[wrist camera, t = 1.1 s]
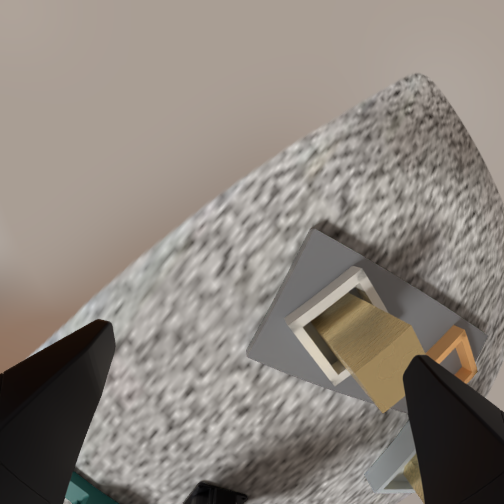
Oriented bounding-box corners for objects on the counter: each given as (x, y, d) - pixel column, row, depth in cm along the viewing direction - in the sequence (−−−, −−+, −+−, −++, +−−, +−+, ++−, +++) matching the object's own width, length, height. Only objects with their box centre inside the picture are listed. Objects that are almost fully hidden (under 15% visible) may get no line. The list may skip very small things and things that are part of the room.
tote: (410, 476, 28) (421, 492, 24) (364, 474, 27) (374, 493, 23) (451, 426, 27) (466, 439, 23) (410, 417, 27) (426, 433, 23)
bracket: (132, 510, 26) (120, 546, 18) (112, 518, 26) (100, 549, 18) (33, 433, 25) (6, 462, 17) (22, 447, 25) (-2, 473, 17)
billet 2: (402, 473, 25) (435, 519, 15) (406, 455, 25) (443, 503, 15) (427, 461, 25) (462, 503, 15) (432, 443, 25) (472, 485, 15)
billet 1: (334, 354, 24) (382, 413, 14) (310, 321, 24) (354, 373, 14) (369, 326, 24) (433, 370, 14) (347, 292, 24) (411, 325, 14)
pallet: (433, 415, 27) (447, 428, 23) (246, 350, 25) (247, 366, 21) (480, 332, 26) (498, 339, 23) (310, 228, 25) (321, 227, 21)
